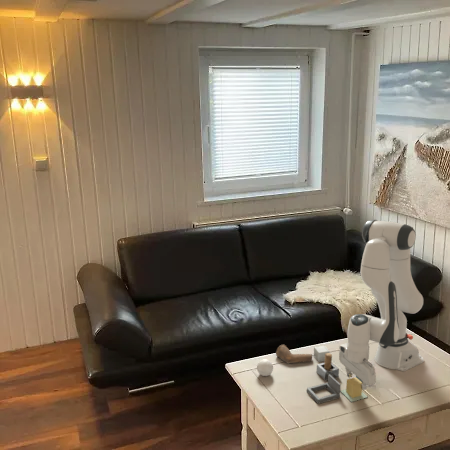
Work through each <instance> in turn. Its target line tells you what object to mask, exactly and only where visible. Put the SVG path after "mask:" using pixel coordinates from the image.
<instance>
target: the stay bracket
mask: <svg viewBox="0 0 450 450" xmlns="http://www.w3.org/2000/svg"><path fill="white" fill-rule="evenodd" d="M324 364H325V362H322V363H321V362H320V363H317V364H316V373H317V375H319V376H320V377H321V379H323V380H324V381H328V375H329V374H330V375H331V376H332V377H333V378H335V379H336V378H339V374H340V368H338V367H337V366H336V365H335V364H334V363H333V362H332V363H331V369H330V370H325V369H324Z"/></svg>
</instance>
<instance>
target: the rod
mask: <svg viewBox="0 0 450 450" xmlns="http://www.w3.org/2000/svg"><path fill="white" fill-rule="evenodd" d="M332 358H333V355H332V353H326V354H325V361H324V363H325V364H324V369H325V370H330V369H331V363H333V362H332V360H333V359H332Z"/></svg>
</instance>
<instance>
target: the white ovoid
mask: <svg viewBox="0 0 450 450" xmlns="http://www.w3.org/2000/svg"><path fill="white" fill-rule="evenodd" d="M252 371H253V372H254V371H255V369H254V370H252ZM256 371H257V372H258V374H259V375H260V376H263V377H268V376H271V374H272V373H273V371H274V365H273V363H272V361H271V360H270V359H267V358H264V359H261V360H260V361H258V362H257V364H256Z"/></svg>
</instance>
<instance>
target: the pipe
mask: <svg viewBox="0 0 450 450" xmlns="http://www.w3.org/2000/svg"><path fill="white" fill-rule="evenodd" d="M275 355H276V356H277V357H278V358H279V359H281V361H283V362H285V363H287V364H297V363H312V361H313V354H311V353H291V351H290V349H289V348H288V347H287V345H285V344H281V345H279V346H278V347H277V348H276V351H275Z"/></svg>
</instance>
